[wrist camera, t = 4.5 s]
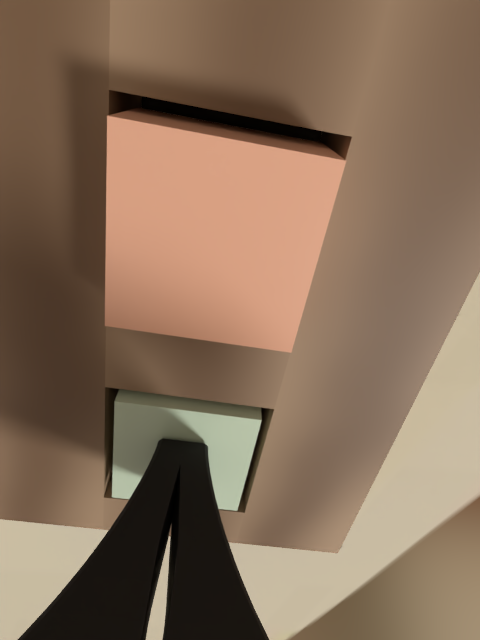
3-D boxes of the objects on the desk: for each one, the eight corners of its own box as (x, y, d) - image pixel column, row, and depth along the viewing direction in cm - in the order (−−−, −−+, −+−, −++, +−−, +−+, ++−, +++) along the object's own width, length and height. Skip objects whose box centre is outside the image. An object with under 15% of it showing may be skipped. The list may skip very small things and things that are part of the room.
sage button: (129, 439, 15) (112, 497, 13) (134, 350, 13) (114, 401, 11) (237, 452, 15) (237, 511, 13) (258, 367, 13) (261, 420, 11)
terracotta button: (130, 278, 11) (104, 325, 9) (138, 107, 9) (106, 115, 7) (281, 301, 11) (291, 352, 9) (321, 142, 9) (346, 160, 7)
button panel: (30, 448, 16) (-10, 518, 14) (-103, -710, 5) (-411, -1423, 3) (323, 482, 17) (337, 553, 15) (700, -432, 7) (1005, -770, 4)
